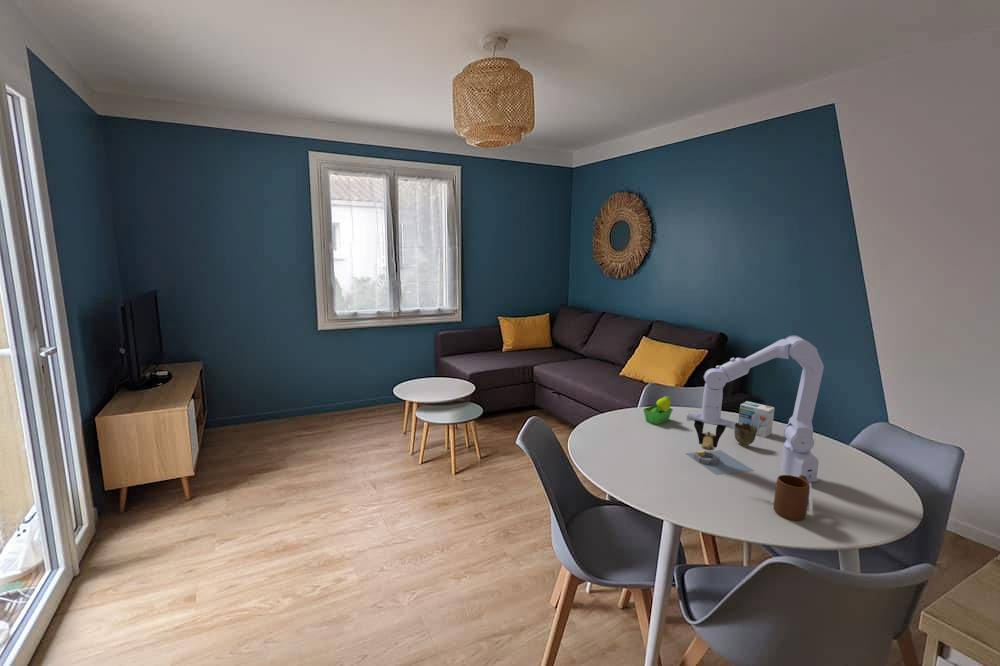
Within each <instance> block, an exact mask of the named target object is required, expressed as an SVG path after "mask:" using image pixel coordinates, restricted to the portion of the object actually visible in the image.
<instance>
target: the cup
mask: <svg viewBox="0 0 1000 666" xmlns="http://www.w3.org/2000/svg"><path fill="white" fill-rule="evenodd" d="M757 429H758V428H757V427H756V426H755V427H753V425H752V426H751V425H750V424H749V423H747V424H745V423H743V424H742V425H740V424H739V423H738V422H735V429H733V430H734V438H735V441H737V442H738V443H737V444H738V445H739V446H742V447H750V445H751V444H753V443H754V441H755V439H756V436H757V435H756V433H757Z"/></svg>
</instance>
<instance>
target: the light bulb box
mask: <svg viewBox="0 0 1000 666" xmlns="http://www.w3.org/2000/svg"><path fill="white" fill-rule="evenodd" d="M739 406H740V407H739V413H738V419H737V420H738V422H737V423H739V424H740V425H742V424H743V423H745V424H747V423H749V424H750V425H751V426H752V425H753V427H755V426H756V427H757V428H758V429H757V433H756V436H758V437H762V438H767V437H768V436H770V435H772V433H773V425H774V416H775V407H773V406H769V405H765V404H762V403H761V404H760V403H757V402H752V401H748V400H746V401H745V402H744V401H743V403H741V404H740V405H739Z"/></svg>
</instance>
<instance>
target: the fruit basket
mask: <svg viewBox="0 0 1000 666" xmlns="http://www.w3.org/2000/svg"><path fill="white" fill-rule="evenodd" d="M671 403H672V402H671V397H670V396H663V397H662V398H659V399H658V400H657V401H656V403H655V405H651V406H648V407H645V408H643V409H642V412H643V413H644V418H645V421H646V422H648V421H649V423H651V424H654V423H655V425H659V424H661V423H664V422H667V421H669V419H670V417H671V415H672V412H673V410H674V408H671Z"/></svg>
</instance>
